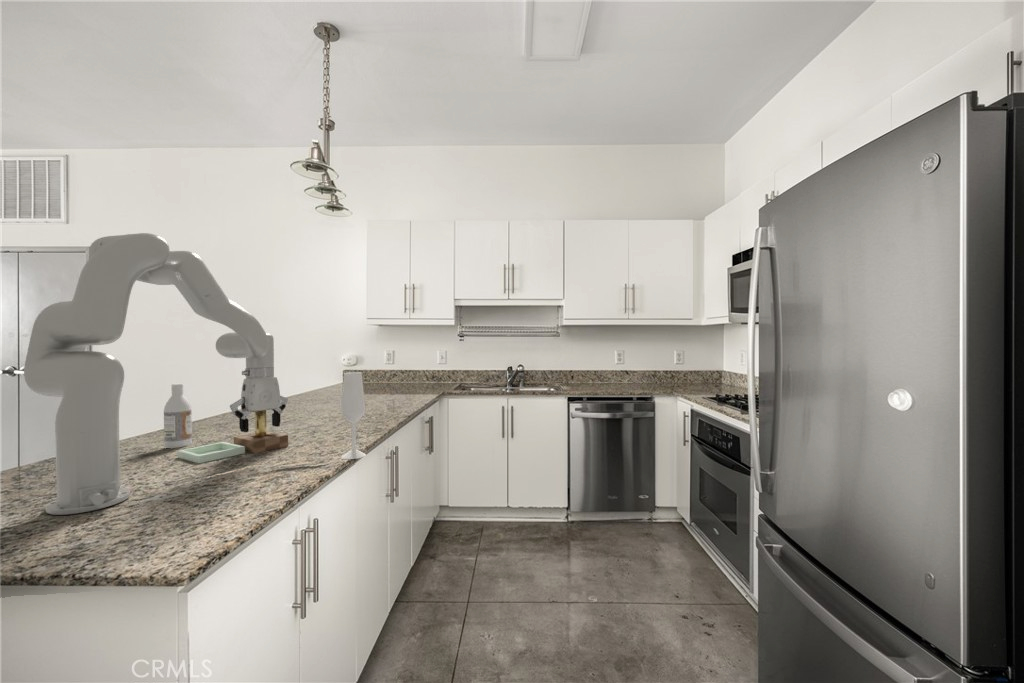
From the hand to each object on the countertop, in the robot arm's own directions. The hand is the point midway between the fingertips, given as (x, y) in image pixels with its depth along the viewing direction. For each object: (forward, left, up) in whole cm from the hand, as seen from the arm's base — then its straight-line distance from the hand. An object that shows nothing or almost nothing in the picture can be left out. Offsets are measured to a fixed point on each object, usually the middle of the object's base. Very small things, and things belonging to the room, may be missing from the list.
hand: (260, 428), depth 136 cm
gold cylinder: (0, 0, -6) cm, 6 cm away
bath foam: (+26, +11, -6) cm, 29 cm away
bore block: (0, 0, -6) cm, 6 cm away
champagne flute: (-32, -9, -6) cm, 34 cm away
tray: (+3, +12, -6) cm, 14 cm away
